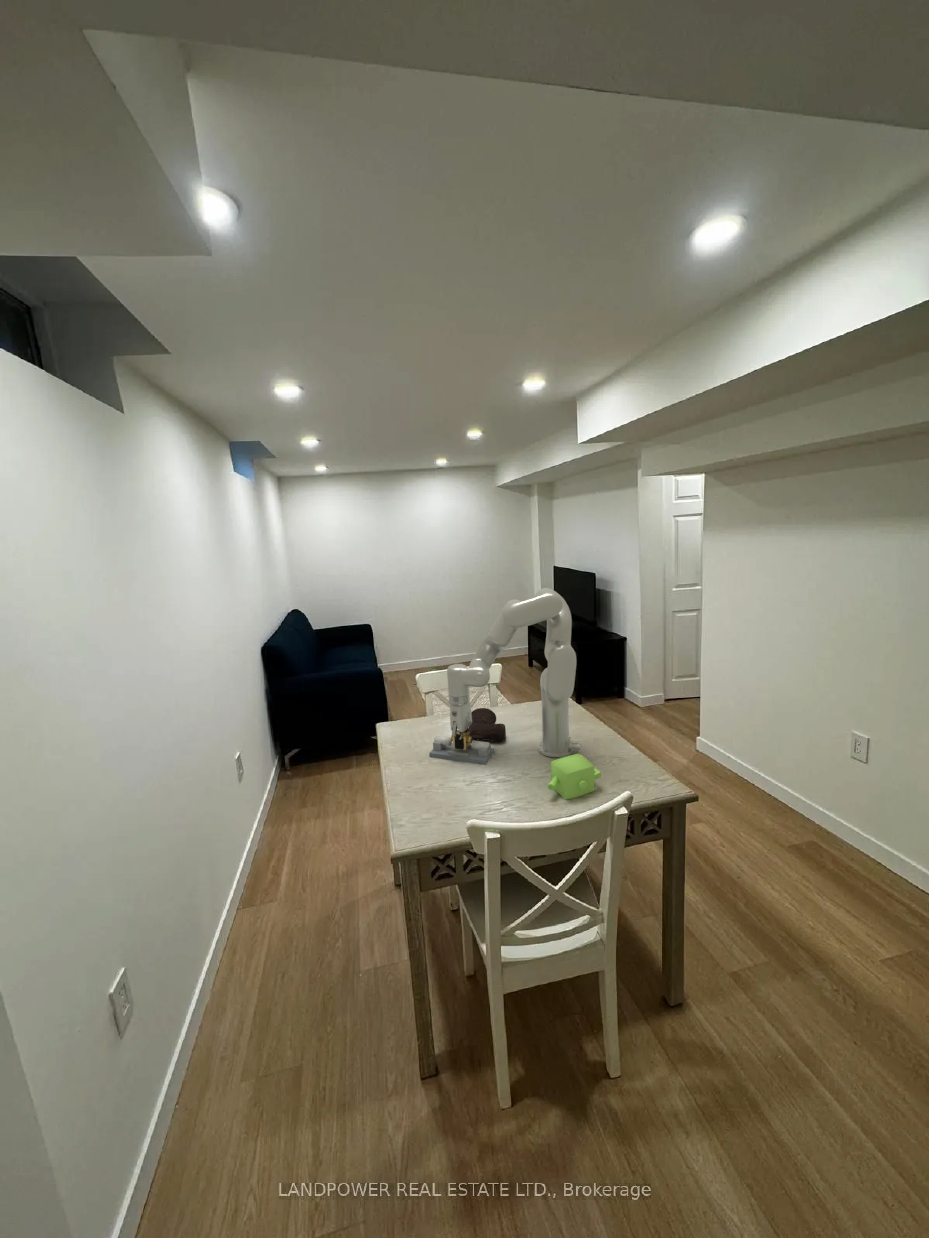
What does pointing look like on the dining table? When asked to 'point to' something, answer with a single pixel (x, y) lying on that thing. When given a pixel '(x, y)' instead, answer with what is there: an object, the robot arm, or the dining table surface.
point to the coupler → (466, 740)
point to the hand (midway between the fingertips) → (462, 745)
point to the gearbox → (573, 776)
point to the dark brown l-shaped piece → (486, 726)
